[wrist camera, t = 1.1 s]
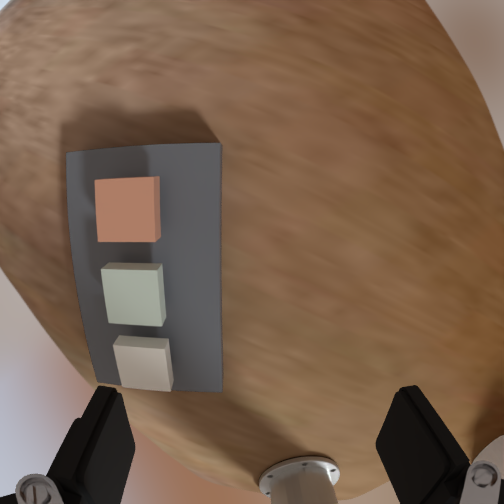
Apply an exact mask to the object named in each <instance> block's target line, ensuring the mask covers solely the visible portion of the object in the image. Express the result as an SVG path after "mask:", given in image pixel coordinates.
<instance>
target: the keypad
mask: <svg viewBox="0 0 504 504" xmlns="http://www.w3.org/2000/svg"><path fill="white" fill-rule="evenodd" d="M148 176H160V224H161V237H160V238H159V239H158V240H157V241H156V242H98V236H97V222H96V204H95V180H98V179H108V178H125V177H148ZM66 184H67V206H68V221H69V233H70V243H71V252H72V261H73V268H74V275H75V282H76V288H77V294H78V300H79V306H80V311H81V316H82V321H83V326H84V331H85V335H86V339H87V344H88V348H89V352H90V356H91V360H92V364H93V368H94V371H95V375H96V379H97V382H100V383H107V384H114V385H122V384H121V380H120V375H119V371H118V367H117V362H116V358H115V353H114V348H113V344H114V342H115V341H116V339H117V338H118V336H119V335H123V336H136V337H150V338H168V339H169V346H170V355H171V363H172V371H173V378H174V381H173V385H172V389H171V390H176V391H194V392H223V344H222V284H221V195H222V144H221V143H182V144H157V145H140V146H125V147H113V148H102V149H92V150H83V151H75V152H67V153H66ZM109 262H111V263H162V266H163V282H164V295H165V307H166V319H165V321H164V323H163V326H144V325H128V324H115V323H109V322H108V316H107V310H106V304H105V297H104V290H103V283H102V275H101V268H103V267H104V266H105V265H106V264H108V263H109Z"/></svg>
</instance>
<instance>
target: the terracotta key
mask: <svg viewBox="0 0 504 504" xmlns="http://www.w3.org/2000/svg"><path fill="white" fill-rule="evenodd" d="M95 204H96V222H97V236H98V242H156V241H157V240H158V239H159V238H160V237H161V224H160V176H148V177H125V178H108V179H98V180H95Z"/></svg>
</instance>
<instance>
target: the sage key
mask: <svg viewBox="0 0 504 504" xmlns="http://www.w3.org/2000/svg"><path fill="white" fill-rule="evenodd" d="M101 275H102V283H103V290H104V297H105V304H106V310H107V316H108V322H109V323H115V324H128V325H144V326H163V323H164V321H165V319H166V307H165V295H164V282H163V266H162V263H111V262H109V263H108V264H106V265H105V266H104V267H103V268H101Z"/></svg>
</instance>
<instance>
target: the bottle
mask: <svg viewBox="0 0 504 504" xmlns="http://www.w3.org/2000/svg"><path fill="white" fill-rule="evenodd" d="M481 460H483V461H489V462H492V463H493V464H495V465H496V466H497V467H498V469H499V470H500V473H501V479H504V435H502V436H500V437H498V438H497V439H495V440H494V441H492V442H491V443H490V444H489V445H488V446H486V447H485V448H484V449H483V450H482V451H481V452H480V453H479V454H478V456H477V457H476V458H475V460H474V461H473V463H475V462H476V461H481ZM473 463H472V464H473Z"/></svg>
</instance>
